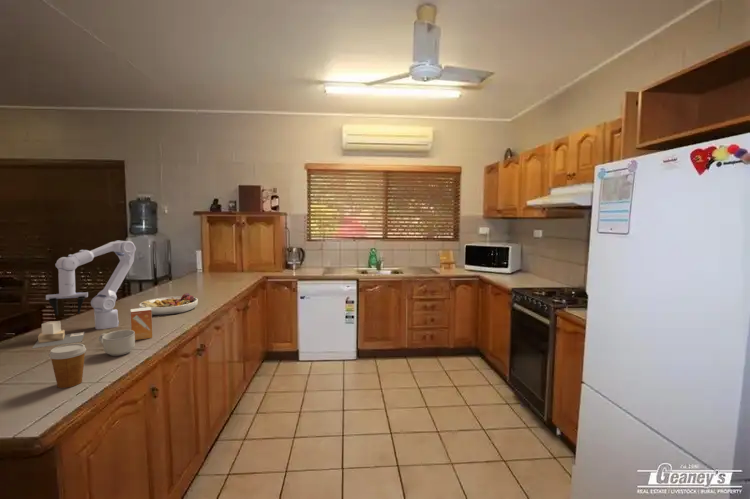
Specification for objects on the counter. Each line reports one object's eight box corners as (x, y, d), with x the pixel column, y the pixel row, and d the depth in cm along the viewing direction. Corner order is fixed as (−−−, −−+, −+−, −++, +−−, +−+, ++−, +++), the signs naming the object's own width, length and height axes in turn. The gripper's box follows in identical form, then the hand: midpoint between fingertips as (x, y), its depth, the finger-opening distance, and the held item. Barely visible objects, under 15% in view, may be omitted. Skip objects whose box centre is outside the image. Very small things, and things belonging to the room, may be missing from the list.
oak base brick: (65, 336, 170) (64, 329, 170) (63, 339, 165) (62, 333, 165) (41, 339, 166) (41, 332, 166) (38, 343, 161) (38, 336, 161)
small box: (131, 341, 167) (130, 311, 166) (131, 337, 172) (129, 308, 171) (153, 338, 171) (151, 309, 170) (152, 334, 176) (150, 306, 175)
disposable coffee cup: (64, 378, 128) (62, 343, 127) (94, 377, 129) (93, 342, 128) (42, 390, 119) (40, 353, 118) (75, 390, 120) (73, 352, 119)
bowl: (166, 318, 204) (166, 304, 203) (127, 313, 215) (126, 299, 214) (209, 306, 232) (208, 293, 231) (172, 302, 243) (172, 290, 242)
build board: (85, 333, 176) (85, 331, 176) (81, 343, 163) (81, 341, 163) (39, 339, 168) (39, 337, 168) (32, 350, 154) (31, 348, 154)
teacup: (142, 350, 155) (141, 331, 155) (116, 359, 145) (115, 339, 144) (117, 346, 160) (116, 327, 159) (90, 355, 150) (89, 335, 149)
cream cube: (61, 331, 168) (60, 321, 167) (53, 334, 163) (52, 323, 163) (50, 331, 167) (49, 321, 167) (42, 334, 163) (41, 324, 162)
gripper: (88, 281, 177) (88, 310, 178) (47, 283, 169) (48, 314, 170) (86, 284, 171) (87, 313, 172) (44, 286, 163) (45, 317, 164)
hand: (68, 314), depth 171 cm, fingers open, 7 cm apart
